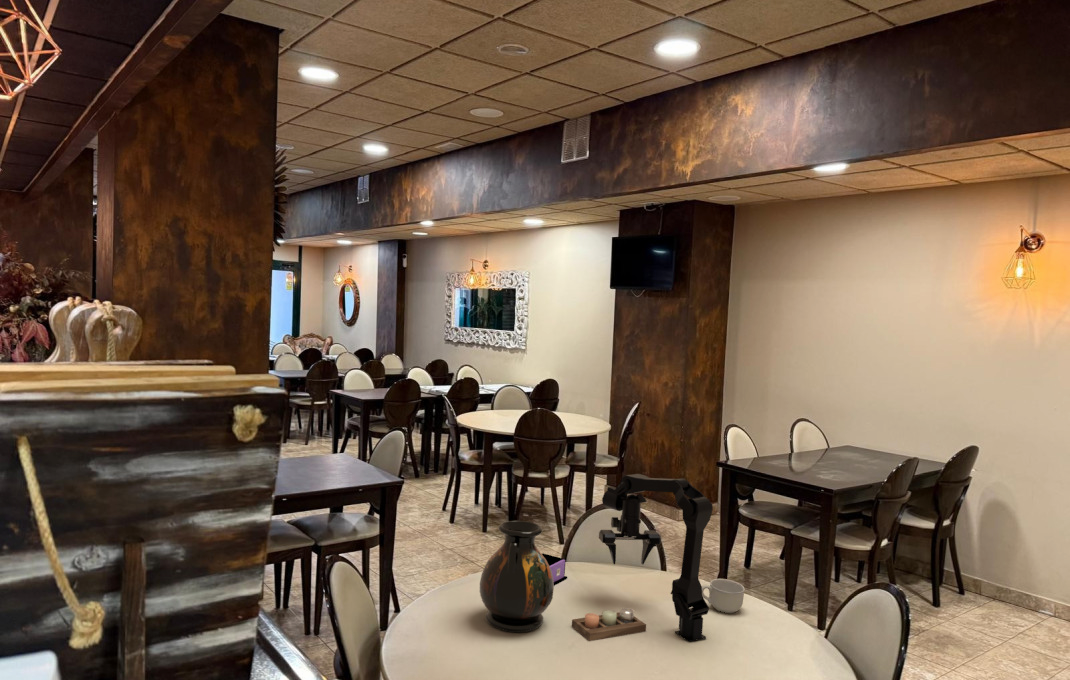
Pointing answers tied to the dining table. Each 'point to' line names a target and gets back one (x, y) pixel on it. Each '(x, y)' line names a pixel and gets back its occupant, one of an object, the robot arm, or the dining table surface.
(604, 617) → the sage button
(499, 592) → the amphora vase
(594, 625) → the terracotta button
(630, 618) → the grey button
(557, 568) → the dollhouse room
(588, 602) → the dining table surface
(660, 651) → the dining table surface
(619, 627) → the button panel
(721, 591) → the teacup
